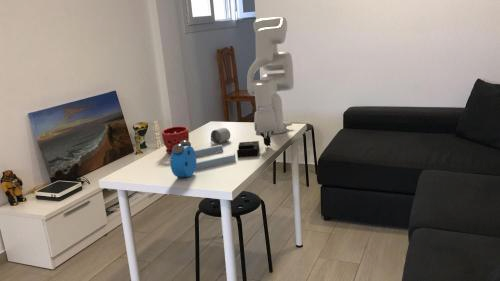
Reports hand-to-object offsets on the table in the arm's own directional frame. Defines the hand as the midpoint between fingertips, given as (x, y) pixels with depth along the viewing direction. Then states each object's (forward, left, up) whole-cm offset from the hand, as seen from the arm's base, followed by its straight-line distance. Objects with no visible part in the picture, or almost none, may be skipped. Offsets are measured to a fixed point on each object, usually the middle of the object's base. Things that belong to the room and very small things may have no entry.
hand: (267, 145), depth 220 cm
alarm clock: (+45, +15, -1) cm, 47 cm away
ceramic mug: (+17, -25, -1) cm, 30 cm away
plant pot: (+40, -22, -1) cm, 46 cm away
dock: (+29, 0, -1) cm, 29 cm away
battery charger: (+11, +2, -2) cm, 11 cm away
